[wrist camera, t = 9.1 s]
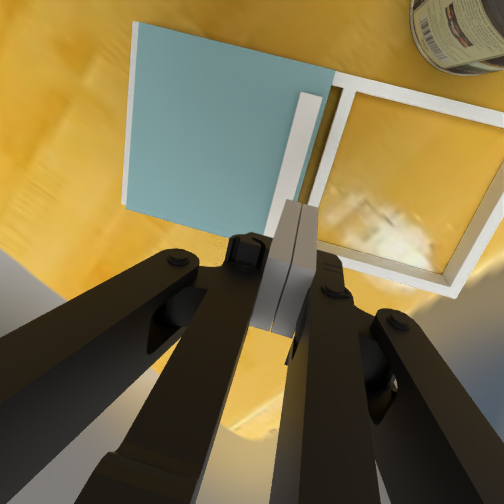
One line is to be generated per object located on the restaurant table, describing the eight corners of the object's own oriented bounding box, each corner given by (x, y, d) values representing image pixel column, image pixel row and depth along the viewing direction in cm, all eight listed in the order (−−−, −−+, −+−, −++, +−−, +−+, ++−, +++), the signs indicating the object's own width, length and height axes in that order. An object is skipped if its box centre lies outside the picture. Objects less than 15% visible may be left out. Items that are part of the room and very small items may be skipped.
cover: (142, 23, 28) (119, 14, 25) (335, 70, 27) (337, 67, 24) (128, 207, 35) (109, 218, 32) (282, 250, 34) (278, 267, 31)
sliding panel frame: (146, 26, 31) (132, 20, 29) (537, 123, 29) (556, 125, 26) (133, 197, 38) (121, 203, 36) (447, 286, 36) (455, 298, 33)
